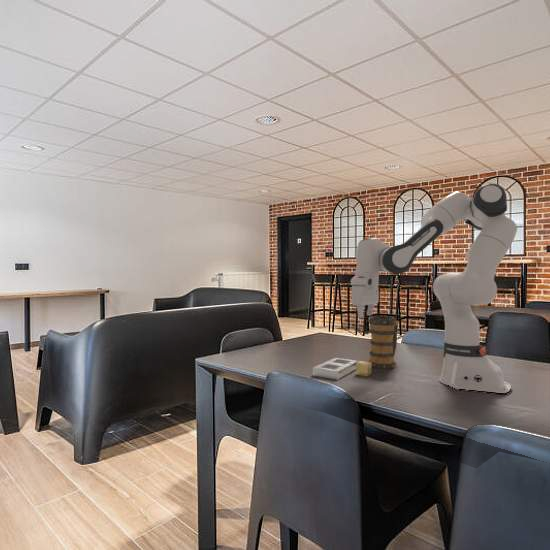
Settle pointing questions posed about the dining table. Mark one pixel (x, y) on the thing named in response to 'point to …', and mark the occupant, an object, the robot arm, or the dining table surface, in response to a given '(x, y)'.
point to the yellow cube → (363, 368)
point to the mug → (383, 341)
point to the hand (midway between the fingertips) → (365, 316)
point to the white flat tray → (335, 368)
